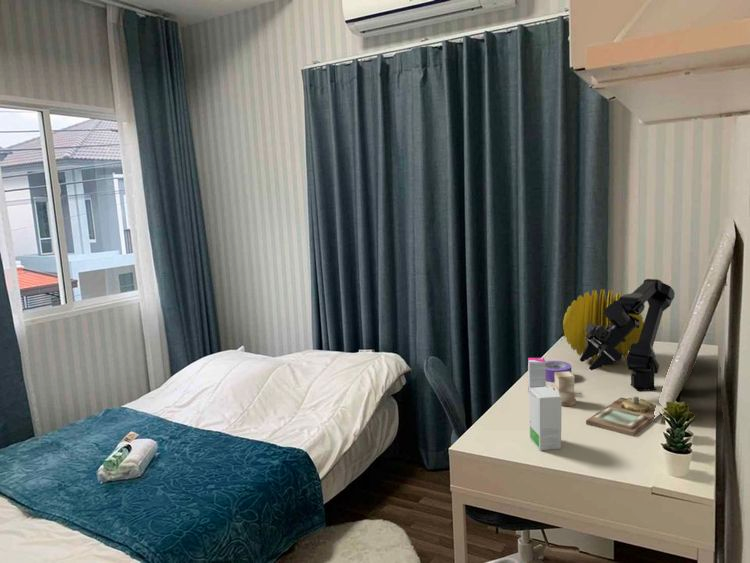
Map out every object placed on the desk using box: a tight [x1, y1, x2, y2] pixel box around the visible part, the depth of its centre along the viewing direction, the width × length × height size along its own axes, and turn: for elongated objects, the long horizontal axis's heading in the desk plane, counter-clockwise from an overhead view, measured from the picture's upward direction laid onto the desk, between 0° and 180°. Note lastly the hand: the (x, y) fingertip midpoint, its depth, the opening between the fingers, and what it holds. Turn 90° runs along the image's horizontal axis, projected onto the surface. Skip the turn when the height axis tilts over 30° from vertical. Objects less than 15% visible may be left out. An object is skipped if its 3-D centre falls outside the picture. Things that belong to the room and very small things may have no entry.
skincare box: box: [528, 385, 563, 452], centre depth 157 cm, size 8×7×16 cm
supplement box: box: [527, 357, 547, 394], centre depth 200 cm, size 6×6×12 cm
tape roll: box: [545, 360, 573, 383], centre depth 212 cm, size 12×12×5 cm
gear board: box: [585, 396, 657, 437], centre depth 172 cm, size 24×14×4 cm, turn 133°
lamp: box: [562, 288, 644, 363], centre depth 224 cm, size 30×30×30 cm
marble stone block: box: [554, 371, 577, 408], centre depth 187 cm, size 7×7×10 cm
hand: (585, 365), depth 185 cm, fingers open, 9 cm apart
